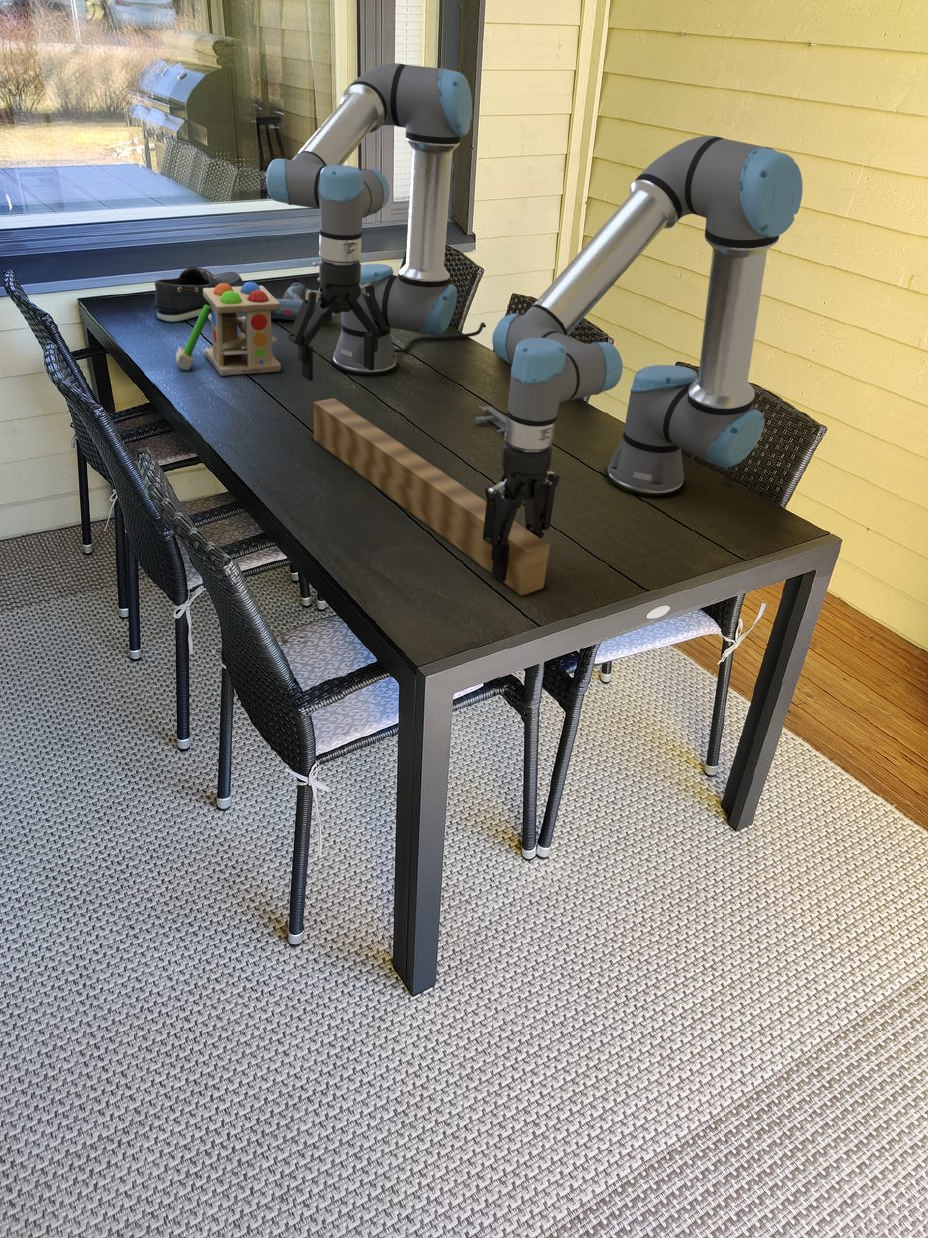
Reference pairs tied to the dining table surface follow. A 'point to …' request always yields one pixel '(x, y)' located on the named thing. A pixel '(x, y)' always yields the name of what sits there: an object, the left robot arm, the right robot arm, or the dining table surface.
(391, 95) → the left robot arm
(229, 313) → the pounding bench toy
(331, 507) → the dining table surface
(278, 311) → the power drill
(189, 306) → the boat shoe
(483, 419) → the clamp
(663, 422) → the right robot arm
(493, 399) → the dining table surface
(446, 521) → the beam
